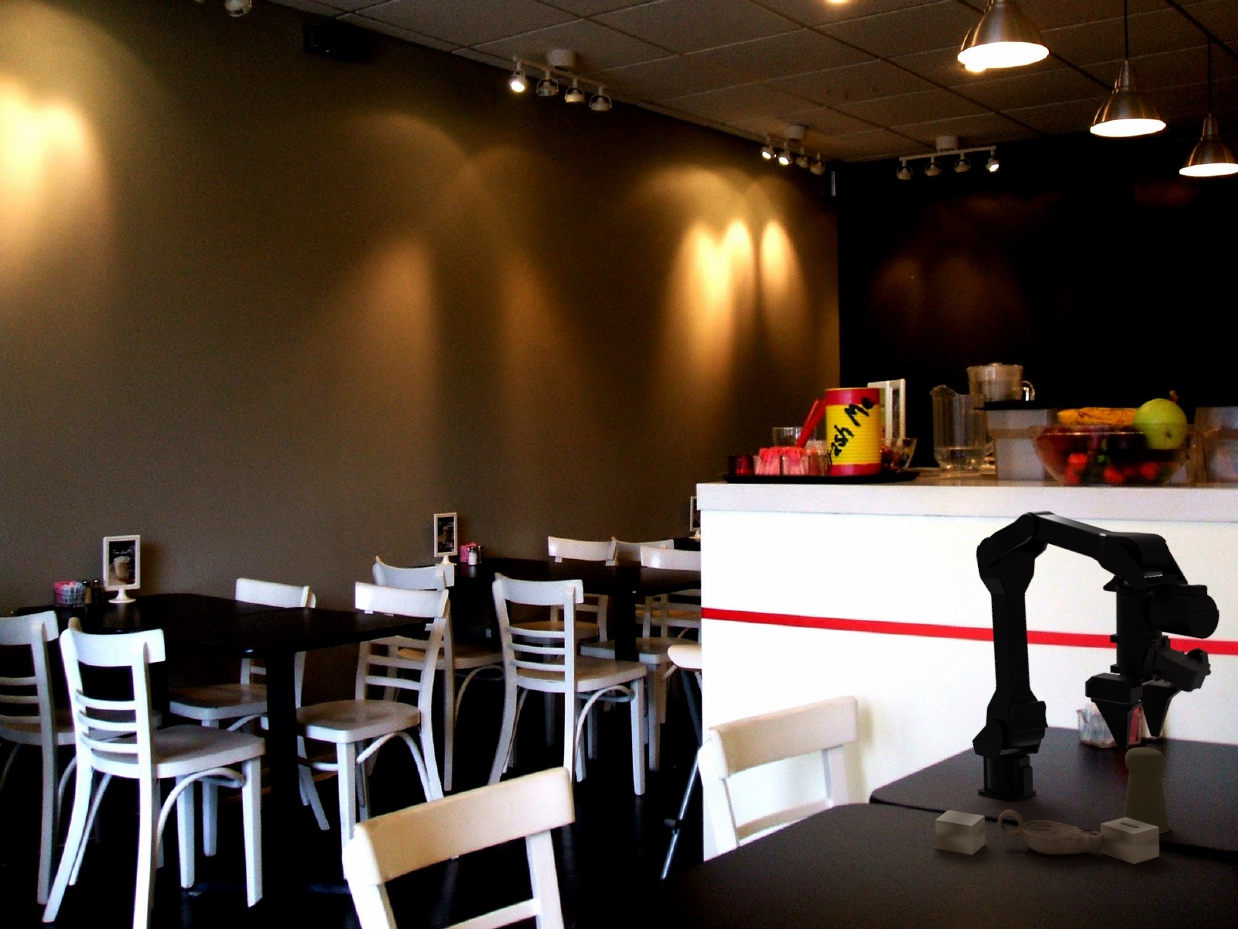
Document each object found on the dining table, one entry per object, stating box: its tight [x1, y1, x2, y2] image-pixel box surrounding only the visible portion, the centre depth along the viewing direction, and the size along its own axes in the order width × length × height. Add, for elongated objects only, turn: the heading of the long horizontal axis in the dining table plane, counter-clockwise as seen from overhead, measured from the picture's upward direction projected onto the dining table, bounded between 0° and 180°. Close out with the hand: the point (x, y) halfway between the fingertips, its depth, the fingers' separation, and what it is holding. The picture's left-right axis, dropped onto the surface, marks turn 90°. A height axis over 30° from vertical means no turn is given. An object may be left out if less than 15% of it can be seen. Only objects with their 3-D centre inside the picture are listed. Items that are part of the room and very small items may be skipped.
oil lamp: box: [997, 809, 1102, 856], centre depth 164 cm, size 13×8×5 cm, turn 65°
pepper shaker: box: [1123, 746, 1170, 833], centre depth 173 cm, size 6×6×11 cm
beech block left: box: [934, 809, 986, 856], centre depth 167 cm, size 5×5×4 cm
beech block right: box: [1100, 817, 1160, 865], centre depth 162 cm, size 5×5×4 cm
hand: (1139, 743), depth 166 cm, fingers open, 9 cm apart
